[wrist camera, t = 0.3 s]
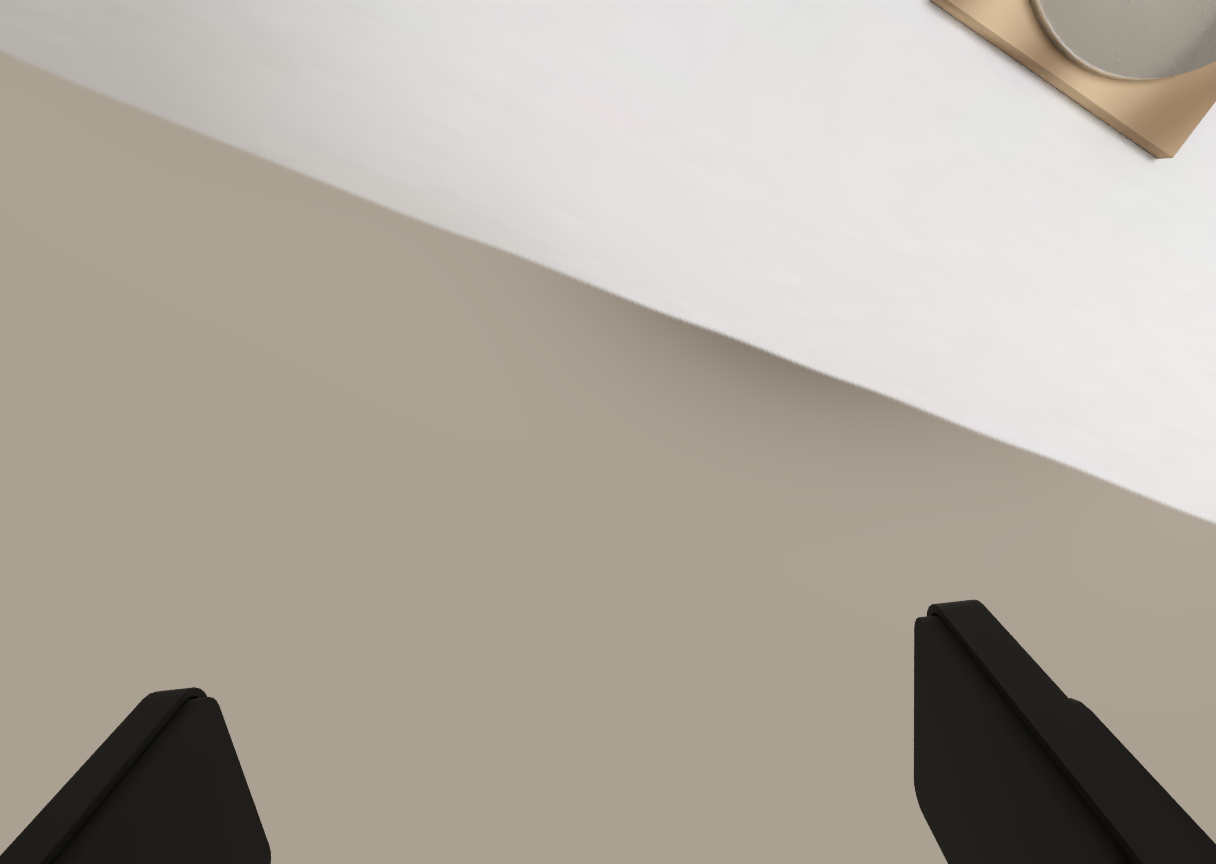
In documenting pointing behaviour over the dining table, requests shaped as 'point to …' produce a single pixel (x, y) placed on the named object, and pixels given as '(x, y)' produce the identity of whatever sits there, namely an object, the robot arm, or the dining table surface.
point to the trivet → (1096, 78)
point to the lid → (1131, 35)
